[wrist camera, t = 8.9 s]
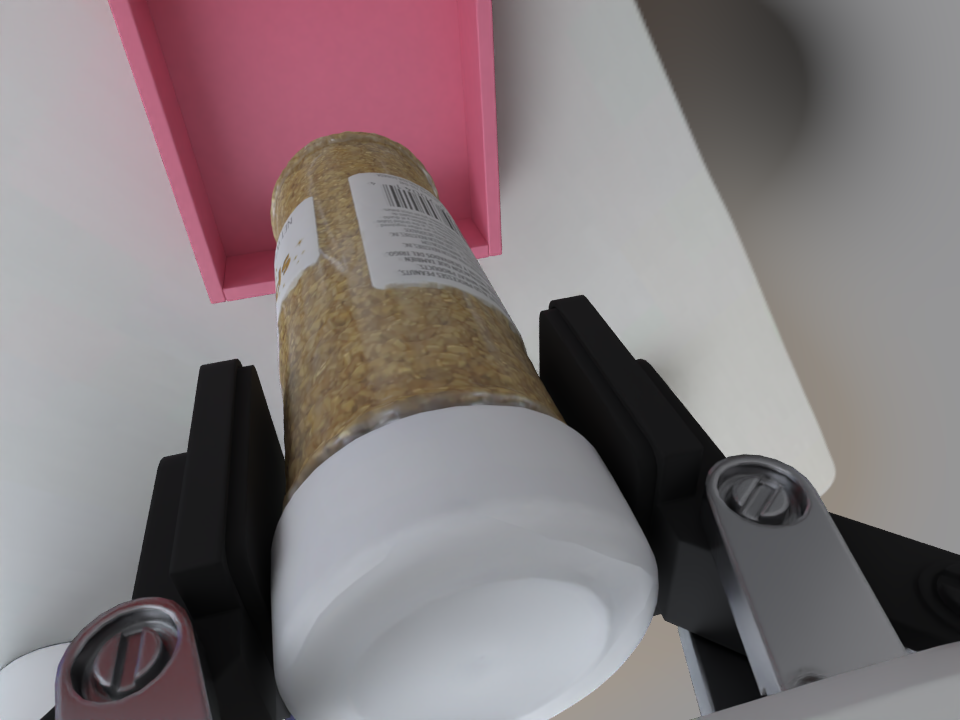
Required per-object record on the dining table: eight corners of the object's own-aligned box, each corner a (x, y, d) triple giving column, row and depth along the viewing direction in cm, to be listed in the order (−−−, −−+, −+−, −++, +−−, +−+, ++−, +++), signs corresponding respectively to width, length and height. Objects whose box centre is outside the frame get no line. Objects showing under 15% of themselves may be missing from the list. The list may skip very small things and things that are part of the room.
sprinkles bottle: (232, 194, 17) (167, 698, 6) (376, 88, 16) (573, 443, 6) (343, 314, 20) (429, 807, 9) (470, 226, 19) (722, 641, 8)
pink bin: (464, -85, 24) (489, -83, 22) (482, 223, 31) (502, 254, 29) (111, -58, 22) (89, -52, 19) (216, 266, 29) (211, 304, 27)
